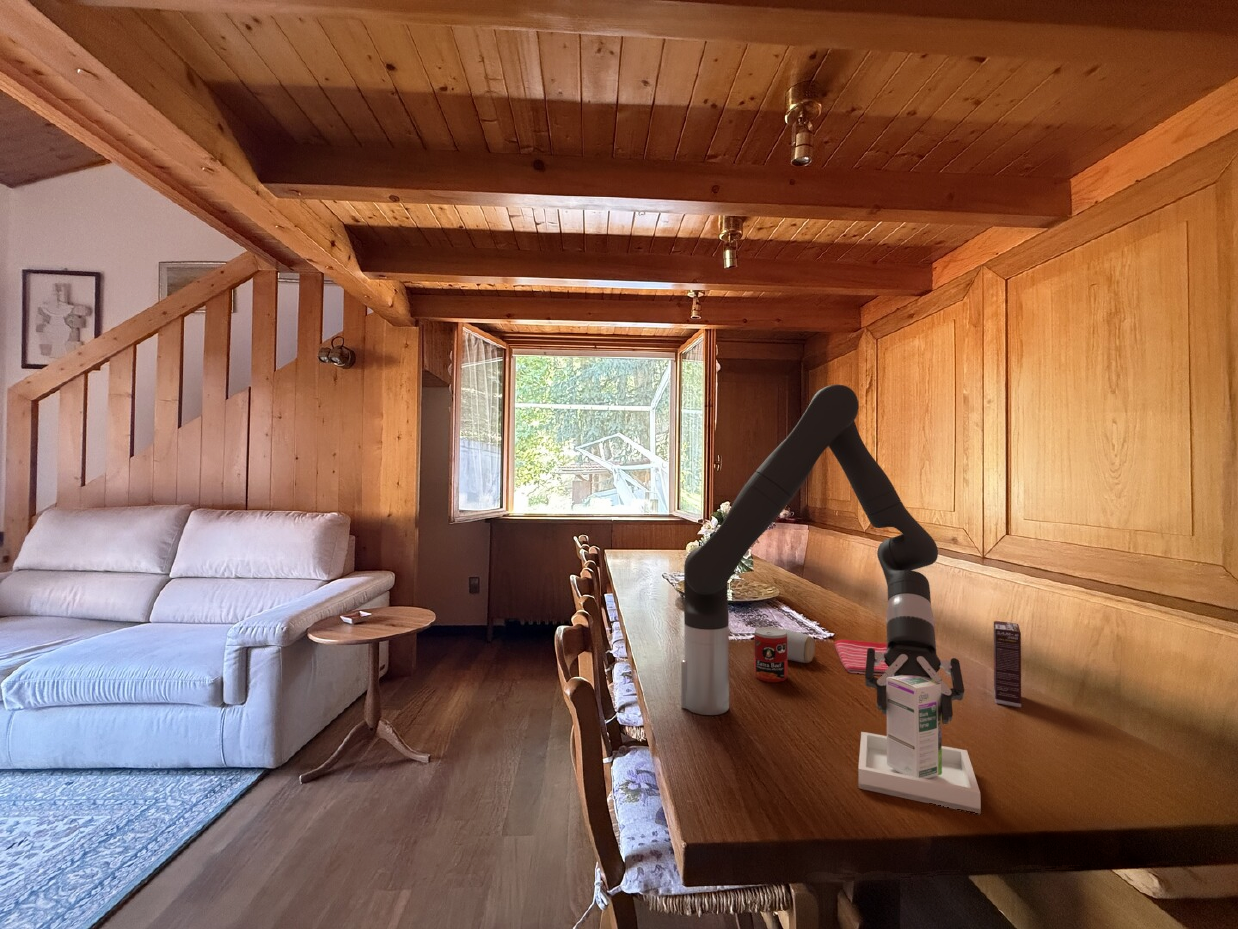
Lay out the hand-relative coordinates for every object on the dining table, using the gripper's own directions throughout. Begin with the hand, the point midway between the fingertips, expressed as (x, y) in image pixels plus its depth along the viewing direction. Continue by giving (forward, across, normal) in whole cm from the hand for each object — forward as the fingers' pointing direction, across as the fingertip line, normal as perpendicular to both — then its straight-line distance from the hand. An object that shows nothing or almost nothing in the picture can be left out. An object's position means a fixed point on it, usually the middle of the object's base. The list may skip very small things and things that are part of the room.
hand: (914, 717), depth 88 cm
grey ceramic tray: (+6, 0, +8) cm, 10 cm away
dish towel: (-36, -7, +52) cm, 64 cm away
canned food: (-20, -29, +35) cm, 50 cm away
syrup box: (+5, 0, +8) cm, 10 cm away
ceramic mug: (-32, -25, +47) cm, 62 cm away
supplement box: (-26, +20, +41) cm, 52 cm away
